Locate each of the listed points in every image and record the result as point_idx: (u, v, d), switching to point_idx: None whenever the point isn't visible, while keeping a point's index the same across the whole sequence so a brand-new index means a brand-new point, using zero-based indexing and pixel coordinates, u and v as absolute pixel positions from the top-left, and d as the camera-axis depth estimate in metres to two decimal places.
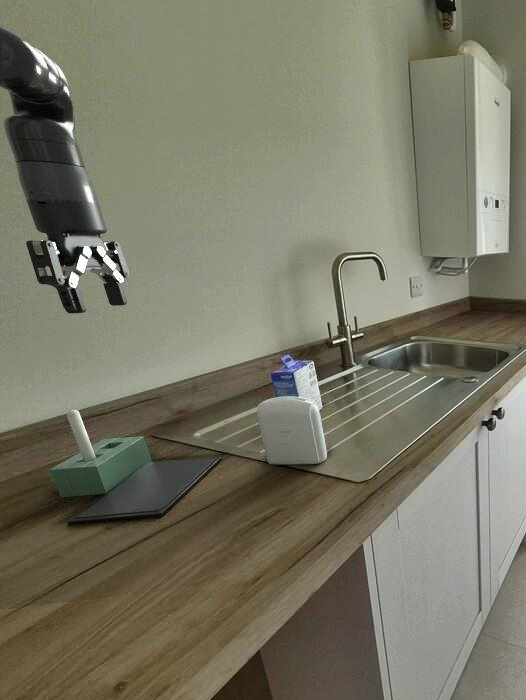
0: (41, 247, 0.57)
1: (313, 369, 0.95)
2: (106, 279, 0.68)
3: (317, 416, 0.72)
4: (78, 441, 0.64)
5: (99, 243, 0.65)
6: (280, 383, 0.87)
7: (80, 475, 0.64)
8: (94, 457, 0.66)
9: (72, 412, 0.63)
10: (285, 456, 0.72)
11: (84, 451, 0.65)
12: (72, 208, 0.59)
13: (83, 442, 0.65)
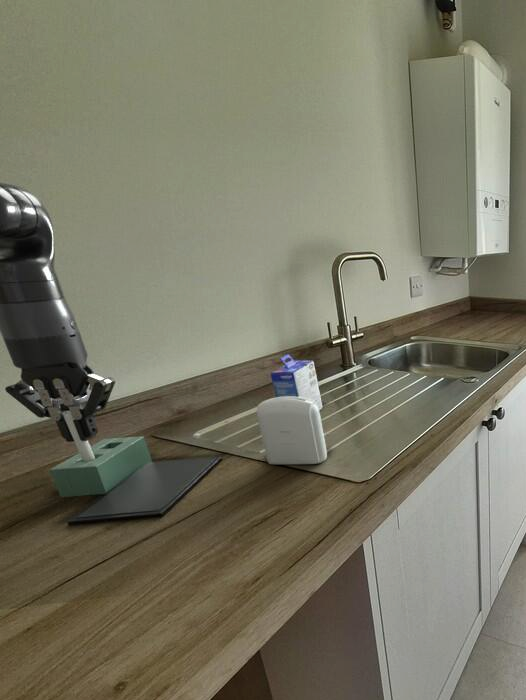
0: (110, 386, 0.64)
1: (313, 369, 0.95)
2: (62, 413, 0.63)
3: (317, 416, 0.72)
4: (76, 442, 0.64)
5: None
6: (280, 383, 0.87)
7: (80, 475, 0.64)
8: (93, 458, 0.66)
9: (69, 413, 0.63)
10: (285, 456, 0.72)
11: (83, 452, 0.65)
12: None
13: (81, 443, 0.64)
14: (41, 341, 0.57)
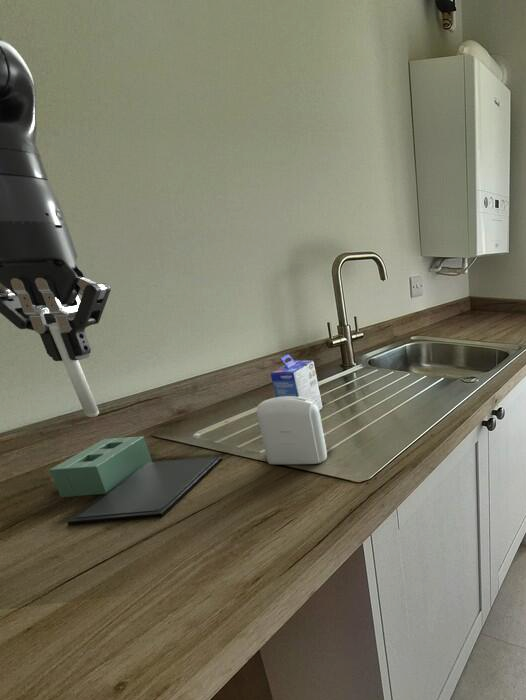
0: (105, 293, 0.53)
1: (313, 369, 0.95)
2: (47, 325, 0.53)
3: (317, 416, 0.72)
4: (65, 361, 0.54)
5: None
6: (280, 383, 0.87)
7: (80, 475, 0.64)
8: (85, 383, 0.56)
9: (56, 325, 0.52)
10: (285, 456, 0.72)
11: (74, 374, 0.54)
12: None
13: (71, 362, 0.54)
14: (19, 226, 0.47)
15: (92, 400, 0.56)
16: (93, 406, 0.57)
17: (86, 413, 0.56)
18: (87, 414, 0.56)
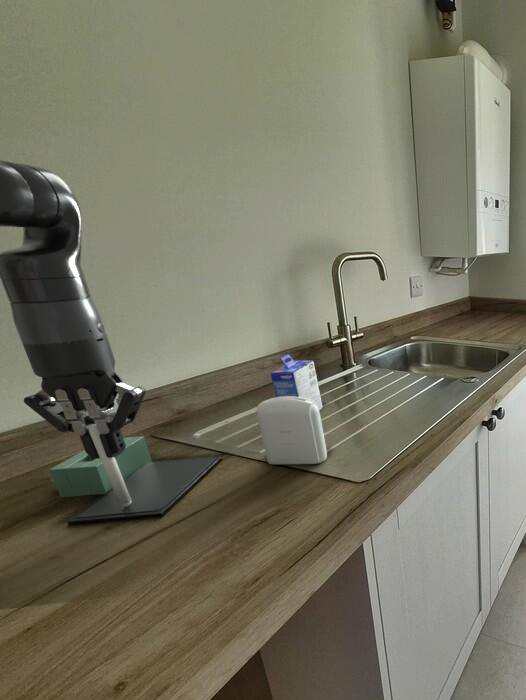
0: (141, 396, 0.57)
1: (313, 369, 0.95)
2: (87, 427, 0.56)
3: (317, 416, 0.72)
4: (102, 459, 0.57)
5: None
6: (280, 383, 0.87)
7: (80, 475, 0.64)
8: (120, 476, 0.59)
9: (95, 427, 0.56)
10: (285, 456, 0.72)
11: (110, 470, 0.58)
12: None
13: (108, 460, 0.57)
14: (66, 346, 0.50)
15: (126, 491, 0.60)
16: (126, 497, 0.60)
17: (120, 504, 0.60)
18: (121, 504, 0.60)
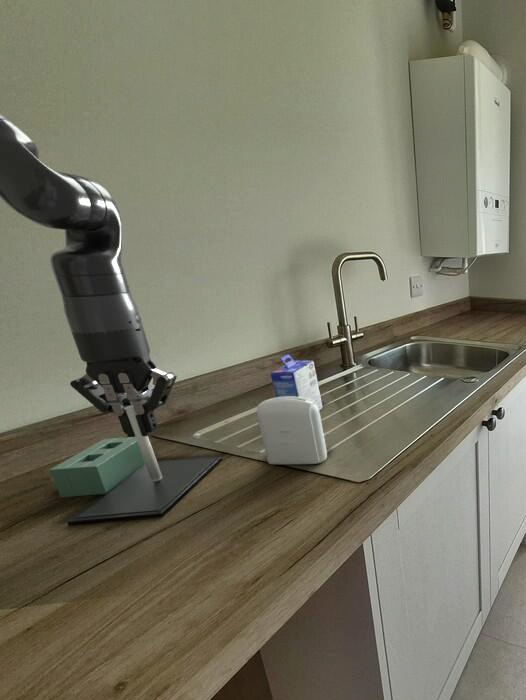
0: (172, 381, 0.63)
1: (313, 369, 0.95)
2: (124, 408, 0.62)
3: (317, 416, 0.72)
4: (137, 437, 0.64)
5: None
6: (280, 383, 0.87)
7: (80, 475, 0.64)
8: (152, 453, 0.66)
9: (132, 408, 0.62)
10: (285, 456, 0.72)
11: (144, 447, 0.64)
12: None
13: (142, 438, 0.64)
14: (109, 335, 0.57)
15: (157, 467, 0.66)
16: (158, 472, 0.66)
17: (152, 478, 0.66)
18: (153, 479, 0.66)
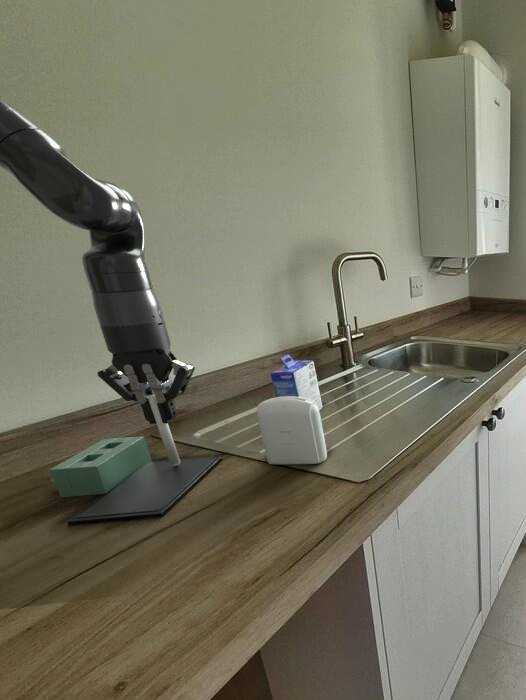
0: (191, 371, 0.68)
1: (313, 369, 0.95)
2: (147, 397, 0.67)
3: (317, 416, 0.72)
4: (159, 424, 0.68)
5: None
6: (280, 383, 0.87)
7: (80, 475, 0.64)
8: (172, 439, 0.70)
9: (154, 397, 0.67)
10: (285, 456, 0.72)
11: (164, 434, 0.69)
12: None
13: (163, 425, 0.69)
14: (135, 328, 0.61)
15: (176, 453, 0.71)
16: (177, 457, 0.71)
17: (171, 463, 0.71)
18: (172, 464, 0.71)
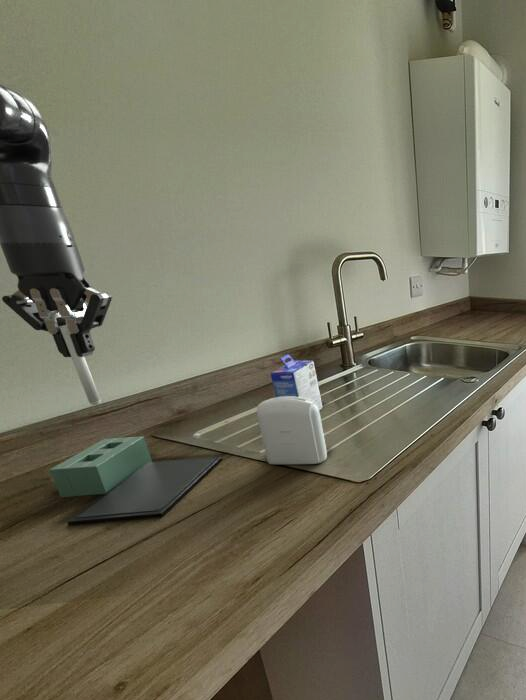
0: (107, 301, 0.64)
1: (313, 369, 0.95)
2: (59, 327, 0.63)
3: (317, 416, 0.72)
4: (73, 357, 0.64)
5: None
6: (280, 383, 0.87)
7: (80, 475, 0.64)
8: (90, 375, 0.66)
9: (66, 327, 0.63)
10: (285, 456, 0.72)
11: (80, 368, 0.65)
12: None
13: (78, 358, 0.64)
14: (38, 246, 0.57)
15: (95, 390, 0.67)
16: (96, 395, 0.67)
17: (90, 401, 0.67)
18: (91, 402, 0.67)
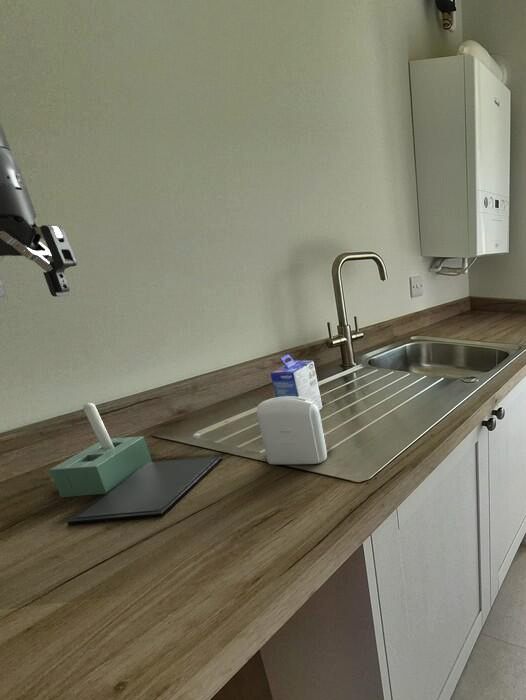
0: (60, 232, 0.62)
1: (313, 369, 0.95)
2: None
3: (317, 416, 0.72)
4: (96, 432, 0.68)
5: None
6: (280, 383, 0.87)
7: (80, 475, 0.64)
8: (112, 446, 0.70)
9: (88, 405, 0.66)
10: (285, 456, 0.72)
11: (103, 441, 0.69)
12: None
13: (101, 432, 0.68)
14: None
15: None
16: None
17: None
18: None
